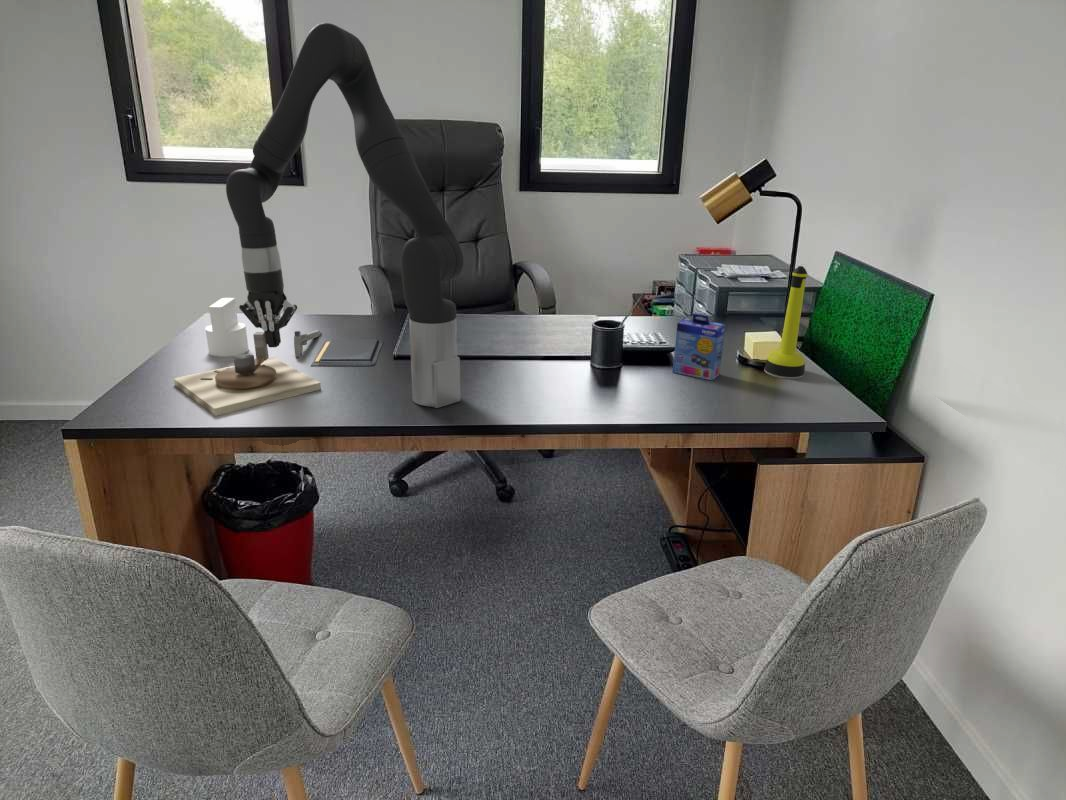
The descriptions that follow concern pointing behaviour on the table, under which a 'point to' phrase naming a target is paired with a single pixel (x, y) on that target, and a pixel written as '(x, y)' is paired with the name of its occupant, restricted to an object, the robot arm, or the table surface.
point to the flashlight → (790, 334)
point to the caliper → (303, 340)
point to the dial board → (236, 399)
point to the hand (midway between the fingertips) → (273, 346)
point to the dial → (248, 368)
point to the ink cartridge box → (698, 347)
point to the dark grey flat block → (348, 353)
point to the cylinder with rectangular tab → (226, 330)
